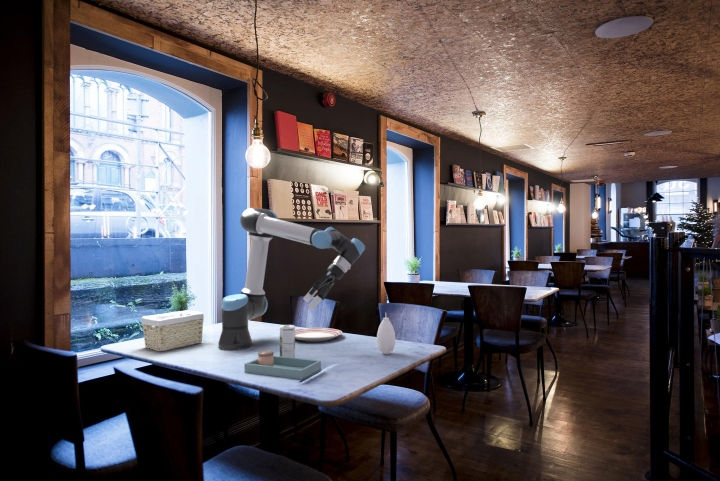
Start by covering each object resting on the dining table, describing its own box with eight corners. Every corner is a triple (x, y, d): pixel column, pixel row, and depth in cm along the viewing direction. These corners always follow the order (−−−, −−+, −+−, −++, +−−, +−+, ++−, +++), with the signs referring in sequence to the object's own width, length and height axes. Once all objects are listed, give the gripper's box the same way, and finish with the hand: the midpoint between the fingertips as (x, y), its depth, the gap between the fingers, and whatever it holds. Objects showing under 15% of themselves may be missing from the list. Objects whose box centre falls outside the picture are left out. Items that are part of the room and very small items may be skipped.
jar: (254, 369, 175) (254, 353, 175) (264, 365, 180) (264, 350, 180) (268, 371, 173) (267, 354, 173) (277, 367, 178) (276, 351, 178)
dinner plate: (311, 330, 254) (311, 324, 254) (353, 336, 239) (352, 329, 239) (275, 340, 232) (275, 333, 232) (318, 346, 216) (318, 339, 216)
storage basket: (158, 353, 207) (157, 319, 207) (139, 348, 217) (139, 316, 217) (205, 343, 226) (205, 312, 226) (187, 339, 236) (186, 309, 236)
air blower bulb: (375, 352, 204) (374, 310, 204) (392, 351, 205) (391, 309, 205) (379, 356, 196) (379, 313, 196) (397, 355, 198) (397, 312, 198)
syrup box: (280, 360, 192) (280, 324, 192) (295, 360, 192) (295, 324, 192) (279, 364, 186) (279, 327, 186) (294, 363, 186) (294, 327, 186)
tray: (244, 374, 172) (244, 363, 172) (267, 365, 185) (266, 355, 185) (301, 382, 162) (301, 370, 162) (320, 371, 175) (320, 360, 175)
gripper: (342, 263, 198) (310, 302, 193) (347, 281, 221) (317, 316, 216) (329, 253, 200) (296, 291, 195) (334, 271, 223) (305, 306, 218)
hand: (307, 304), depth 205 cm, fingers open, 13 cm apart
